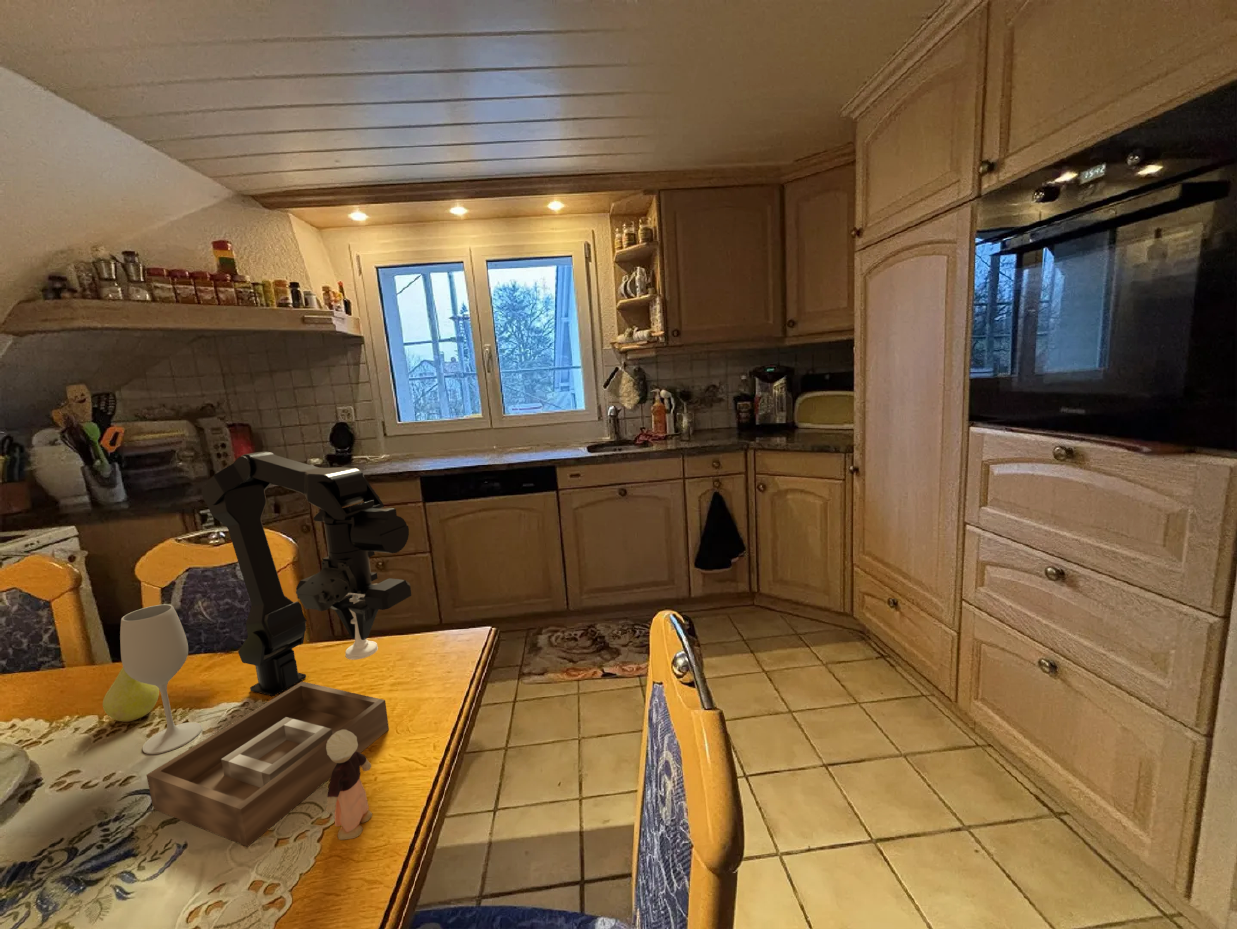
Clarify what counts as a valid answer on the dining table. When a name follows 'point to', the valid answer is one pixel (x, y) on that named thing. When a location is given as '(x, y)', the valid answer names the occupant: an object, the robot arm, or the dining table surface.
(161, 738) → the wineglass
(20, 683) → the dining table surface
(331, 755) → the grandmother figurine
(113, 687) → the fruit
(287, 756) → the walnut box
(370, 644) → the chess piece
